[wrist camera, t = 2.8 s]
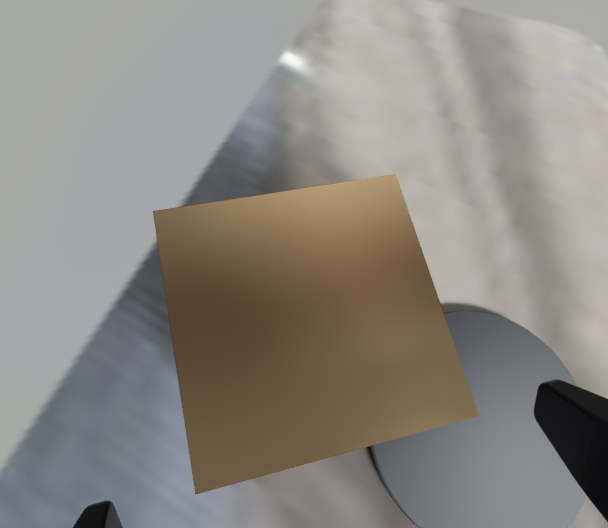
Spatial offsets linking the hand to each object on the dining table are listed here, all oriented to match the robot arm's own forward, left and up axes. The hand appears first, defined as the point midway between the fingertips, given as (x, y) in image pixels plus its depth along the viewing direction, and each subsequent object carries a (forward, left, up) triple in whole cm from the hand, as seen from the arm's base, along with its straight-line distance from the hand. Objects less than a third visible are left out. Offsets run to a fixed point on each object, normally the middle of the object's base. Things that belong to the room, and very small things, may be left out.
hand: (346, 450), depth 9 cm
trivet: (-3, -8, -10) cm, 13 cm away
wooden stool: (+3, -1, -10) cm, 11 cm away
